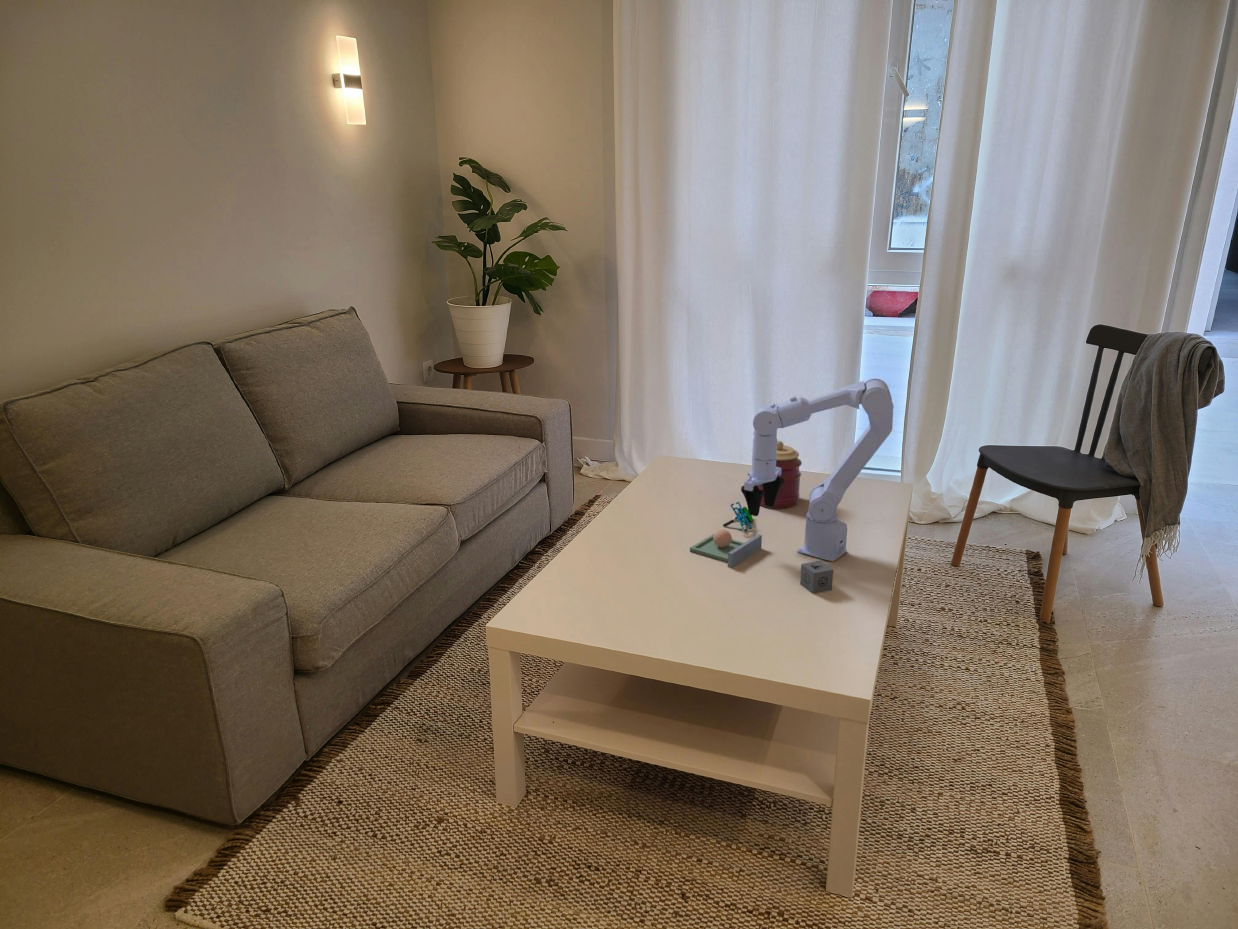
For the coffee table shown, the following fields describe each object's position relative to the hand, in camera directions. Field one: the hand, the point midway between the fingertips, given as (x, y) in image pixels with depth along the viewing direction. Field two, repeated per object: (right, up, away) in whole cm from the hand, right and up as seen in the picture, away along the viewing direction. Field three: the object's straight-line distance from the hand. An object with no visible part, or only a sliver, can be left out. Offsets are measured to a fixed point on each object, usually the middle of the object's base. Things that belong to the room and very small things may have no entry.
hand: (761, 510), depth 209 cm
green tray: (-10, -10, +1) cm, 14 cm away
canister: (+9, +1, +32) cm, 34 cm away
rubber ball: (-9, -7, +1) cm, 12 cm away
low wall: (-5, -11, -3) cm, 12 cm away
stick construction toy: (-3, -5, +16) cm, 17 cm away
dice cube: (+9, -16, -18) cm, 26 cm away
